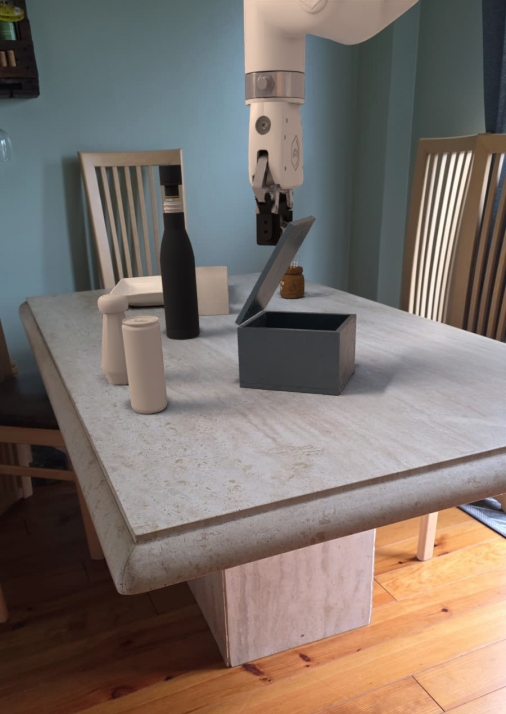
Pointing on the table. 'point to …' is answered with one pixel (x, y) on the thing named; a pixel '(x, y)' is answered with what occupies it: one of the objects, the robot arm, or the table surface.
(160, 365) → the beverage can
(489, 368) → the table surface
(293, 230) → the bin lid
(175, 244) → the black water bottle
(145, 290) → the square plate
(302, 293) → the utensil holder
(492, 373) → the table surface
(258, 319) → the bin
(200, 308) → the beige rectangular box
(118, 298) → the salt shaker
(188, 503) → the table surface
